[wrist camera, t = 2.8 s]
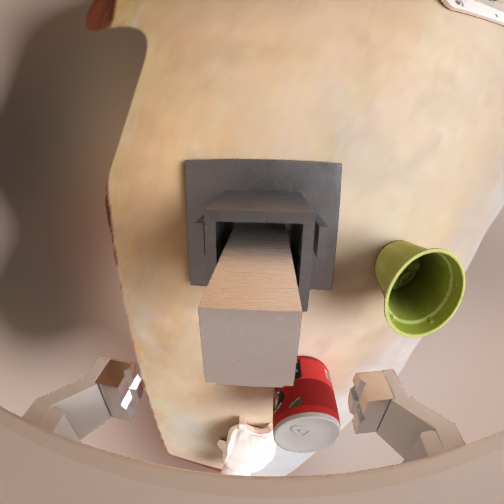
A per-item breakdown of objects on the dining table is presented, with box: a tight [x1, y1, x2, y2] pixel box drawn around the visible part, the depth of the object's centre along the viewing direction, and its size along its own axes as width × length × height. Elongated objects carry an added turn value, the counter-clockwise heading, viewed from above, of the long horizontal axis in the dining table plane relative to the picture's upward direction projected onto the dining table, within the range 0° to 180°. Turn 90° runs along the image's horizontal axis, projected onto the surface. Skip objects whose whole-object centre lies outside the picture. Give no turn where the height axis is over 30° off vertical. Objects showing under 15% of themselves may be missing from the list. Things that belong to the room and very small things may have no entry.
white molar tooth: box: [217, 416, 277, 476], centre depth 41 cm, size 8×8×15 cm
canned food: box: [273, 356, 341, 453], centre depth 34 cm, size 8×8×11 cm
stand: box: [185, 159, 342, 311], centre depth 26 cm, size 16×14×13 cm
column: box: [198, 222, 302, 387], centre depth 21 cm, size 4×5×20 cm
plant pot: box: [375, 241, 465, 338], centre depth 29 cm, size 9×9×9 cm
